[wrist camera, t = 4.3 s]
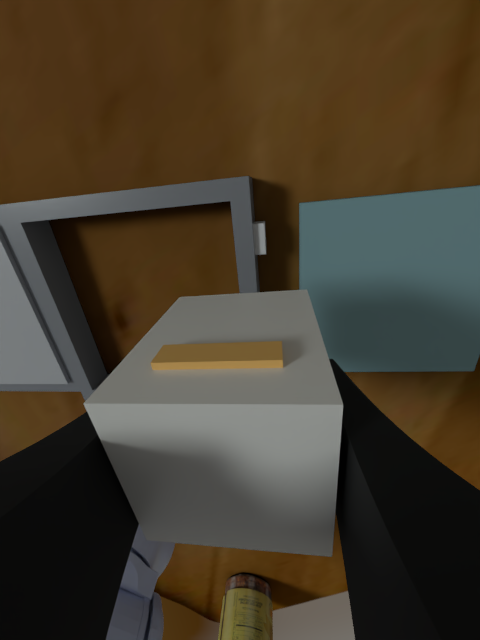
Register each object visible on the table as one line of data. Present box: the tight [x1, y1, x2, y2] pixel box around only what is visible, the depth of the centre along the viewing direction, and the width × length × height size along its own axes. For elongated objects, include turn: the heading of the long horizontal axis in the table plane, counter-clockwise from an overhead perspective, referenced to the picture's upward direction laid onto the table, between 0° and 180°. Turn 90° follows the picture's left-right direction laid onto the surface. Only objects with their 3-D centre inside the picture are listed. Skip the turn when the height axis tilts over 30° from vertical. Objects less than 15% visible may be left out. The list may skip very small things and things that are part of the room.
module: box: [84, 289, 343, 557], centre depth 9 cm, size 5×5×6 cm
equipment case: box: [0, 176, 266, 400], centre depth 19 cm, size 14×29×2 cm, turn 96°
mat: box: [299, 185, 480, 372], centre depth 16 cm, size 11×11×1 cm
